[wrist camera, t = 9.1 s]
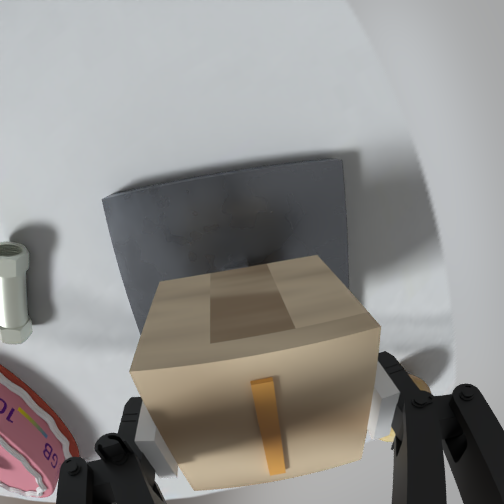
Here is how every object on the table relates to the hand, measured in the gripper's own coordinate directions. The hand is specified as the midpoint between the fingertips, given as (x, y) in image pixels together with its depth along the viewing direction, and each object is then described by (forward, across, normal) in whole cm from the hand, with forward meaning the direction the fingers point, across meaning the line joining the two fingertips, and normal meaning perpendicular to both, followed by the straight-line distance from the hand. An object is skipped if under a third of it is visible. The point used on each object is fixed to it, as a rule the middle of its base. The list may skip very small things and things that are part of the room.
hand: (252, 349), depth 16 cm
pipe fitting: (+9, -21, +3) cm, 23 cm away
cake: (+9, -36, -15) cm, 40 cm away
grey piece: (+9, 0, 0) cm, 9 cm away
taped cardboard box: (+1, 0, 0) cm, 1 cm away
